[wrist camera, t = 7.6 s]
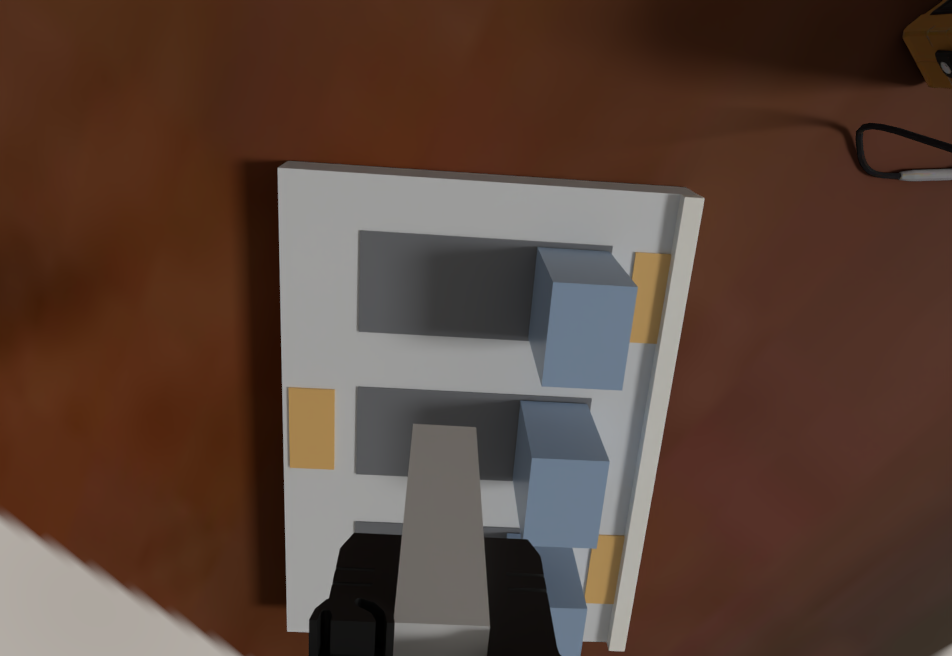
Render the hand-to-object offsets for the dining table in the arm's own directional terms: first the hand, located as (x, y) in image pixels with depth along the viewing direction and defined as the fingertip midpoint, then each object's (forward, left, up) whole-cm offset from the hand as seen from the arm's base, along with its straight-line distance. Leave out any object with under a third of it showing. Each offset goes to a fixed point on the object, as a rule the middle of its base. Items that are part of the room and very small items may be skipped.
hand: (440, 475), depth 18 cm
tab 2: (+7, +5, -14) cm, 17 cm away
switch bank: (+7, +2, -16) cm, 18 cm away
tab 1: (0, +5, -14) cm, 15 cm away
